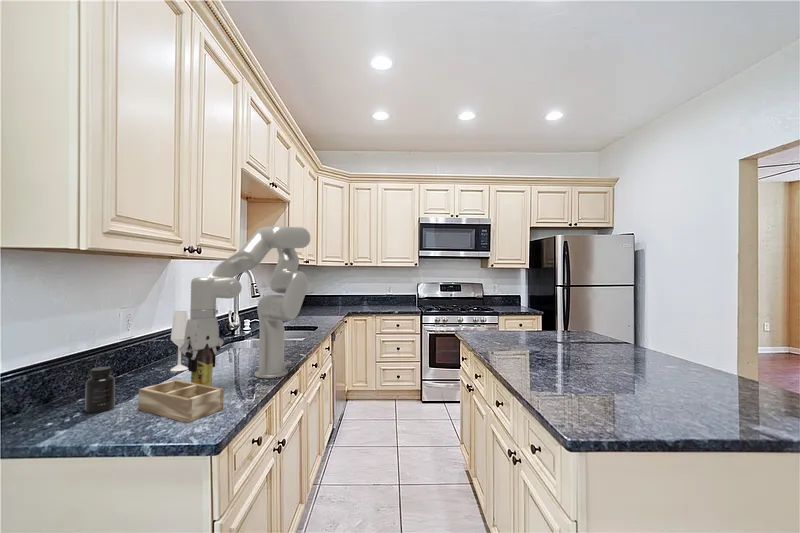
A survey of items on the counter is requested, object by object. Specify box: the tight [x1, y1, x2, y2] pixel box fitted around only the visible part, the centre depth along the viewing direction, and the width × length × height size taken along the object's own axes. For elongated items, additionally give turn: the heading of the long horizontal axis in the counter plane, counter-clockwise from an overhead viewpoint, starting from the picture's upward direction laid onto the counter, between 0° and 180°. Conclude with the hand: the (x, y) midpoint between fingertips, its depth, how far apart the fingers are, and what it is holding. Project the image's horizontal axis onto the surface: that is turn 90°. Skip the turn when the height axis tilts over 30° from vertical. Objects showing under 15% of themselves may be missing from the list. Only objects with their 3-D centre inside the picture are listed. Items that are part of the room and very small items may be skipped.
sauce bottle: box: [190, 336, 214, 387], centre depth 126 cm, size 7×6×20 cm
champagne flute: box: [169, 310, 189, 372], centre depth 159 cm, size 7×7×24 cm
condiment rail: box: [137, 379, 225, 424], centre depth 112 cm, size 11×22×6 cm, turn 65°
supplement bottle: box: [84, 366, 116, 414], centre depth 112 cm, size 7×7×12 cm
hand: (202, 368), depth 126 cm, fingers closed on sauce bottle, 6 cm apart
